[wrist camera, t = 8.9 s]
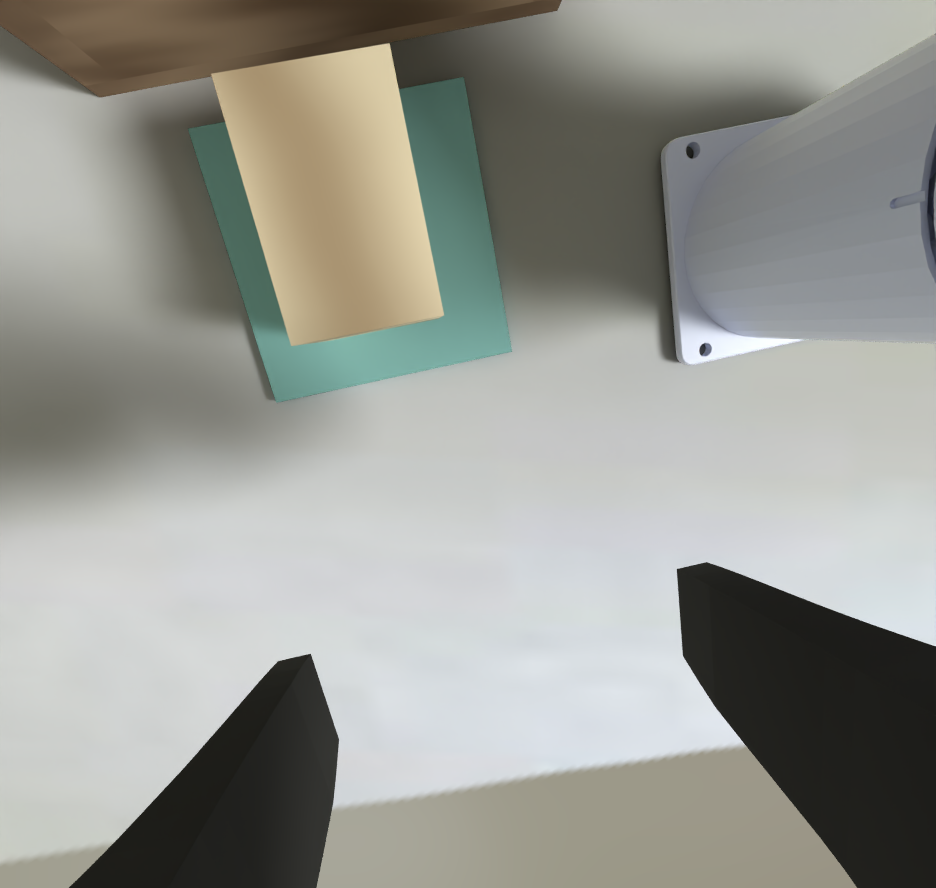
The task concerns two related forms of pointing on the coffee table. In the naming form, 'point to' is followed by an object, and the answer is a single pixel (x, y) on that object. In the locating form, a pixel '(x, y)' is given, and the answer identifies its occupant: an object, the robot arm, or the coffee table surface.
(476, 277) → the teal mat
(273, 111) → the maple block
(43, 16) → the slotted box
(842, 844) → the robot arm
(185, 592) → the coffee table surface
